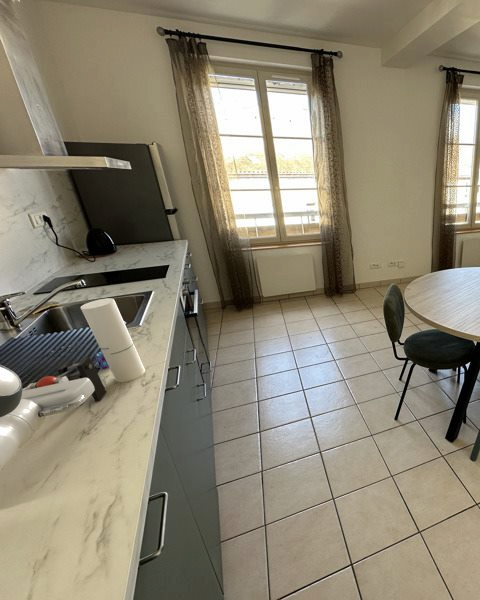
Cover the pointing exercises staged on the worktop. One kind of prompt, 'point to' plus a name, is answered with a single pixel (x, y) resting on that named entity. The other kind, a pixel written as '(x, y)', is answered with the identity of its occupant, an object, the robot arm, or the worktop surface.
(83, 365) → the toaster bracket
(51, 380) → the lever
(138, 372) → the cylindrical container
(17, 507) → the worktop surface
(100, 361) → the pudding
